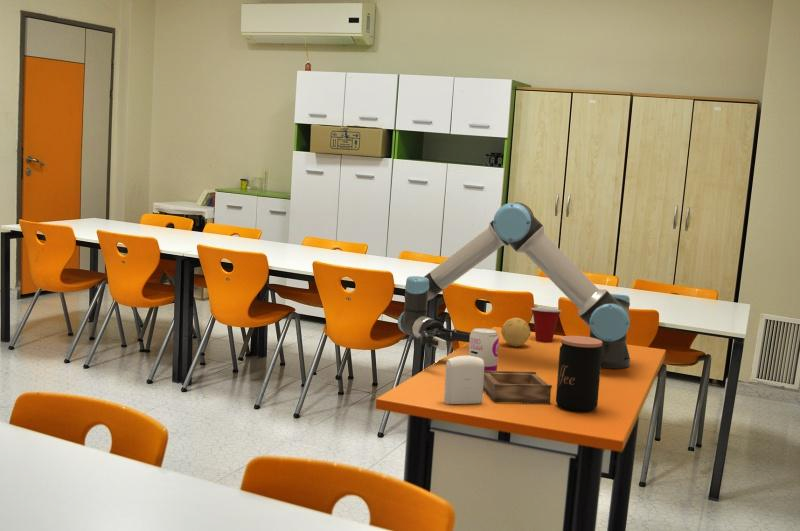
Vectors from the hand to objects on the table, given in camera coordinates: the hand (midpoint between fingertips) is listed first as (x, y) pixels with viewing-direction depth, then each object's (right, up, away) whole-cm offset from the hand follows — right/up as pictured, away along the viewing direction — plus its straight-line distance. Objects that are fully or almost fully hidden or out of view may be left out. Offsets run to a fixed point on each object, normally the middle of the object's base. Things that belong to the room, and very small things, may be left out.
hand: (464, 344), depth 254 cm
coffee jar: (+27, -14, -29) cm, 42 cm away
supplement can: (+4, -10, -8) cm, 13 cm away
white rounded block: (-3, -12, -31) cm, 33 cm away
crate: (+12, -12, -21) cm, 26 cm away
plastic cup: (+33, -4, +60) cm, 69 cm away
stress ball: (+21, -5, +47) cm, 52 cm away
